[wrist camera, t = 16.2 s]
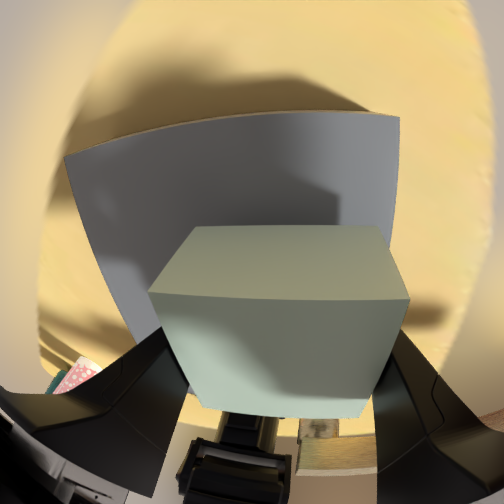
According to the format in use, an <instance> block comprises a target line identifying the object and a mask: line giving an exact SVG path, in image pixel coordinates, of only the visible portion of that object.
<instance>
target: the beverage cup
mask: <svg viewBox="0 0 504 504" xmlns="http://www.w3.org/2000/svg"><path fill="white" fill-rule="evenodd" d="M100 371H102V369H101V368H100V367H99V366H98V365H97V364H95V363H94V362H93V361H91V360H90V359H88V358H86V357H83V356H80V357H79V359H78V360H77V361H76V363H75V364H74V365H73V367H72V368H71V369H70V371H69V372H68V373H67V374H66V376H65V377H64V379H63V380H62V381H61V383H60V384H59V385H58V387H57V388H56V389H55V391H54V392H53V394H60V393H64V392H67V391H69V390H71V389H73V388H74V387H76V386H78V385H79V384H81V383H83V382H84V381H86V380H88V379H89V378H91V377H92V376H94V375H96V374H97V373H99V372H100Z"/></svg>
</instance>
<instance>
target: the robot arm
mask: <svg viewBox="0 0 504 504" xmlns="http://www.w3.org/2000/svg"><path fill="white" fill-rule="evenodd" d="M189 385H190V383H189V381H188V380H187V378H186V376H185V374H184V372H183V370H182V368H181V366H180V364H179V362H178V360H177V358H176V356H175V354H174V352H173V350H172V348H171V346H170V343H169V341H168V339H167V337H166V335H165V333H164V330H163V328H162V326H161V327H159V328H158V329H157V330H155V331H154V332H153V333H151V334H150V335H149V336H148V337H146V338H145V339H144V340H142V341H141V342H140V343H138V344H137V345H136V346H134V347H133V348H132V349H130V350H129V351H128V352H126V353H125V354H124V355H123V357H122V356H121V357H120V358H118V359H117V360H116V361H115V362H113V363H112V364H110V365H109V366H108V367H106V368H105V369H103V370H102V371H100V372H99V373H97V374H96V375H94V376H92V377H91V378H89V379H88V380H86V381H84V382H83V383H81V384H79V385H78V386H76V387H74V388H73V389H71V390H69V391H67V392H64V393H60V394H20V393H12V392H9V391H6V390H5V389H4V388H3V387H2V386H0V408H1V409H2V410H3V411H4V412H5V413H6V414H7V415H8V416H9V417H10V418H11V419H12V420H13V421H14V422H15V423H14V424H13V423H11V422H10V421H9V420H8V419H7V418H6V417H4V416H3V415H2V414H1V413H0V504H125V501H126V498H127V496H128V493H129V490H130V491H132V492H135V493H138V494H140V495H143V496H146V497H149V498H152V496H153V493H154V490H155V487H156V484H157V481H158V478H159V475H160V472H161V469H162V466H163V463H164V459H165V457H166V453H167V450H168V447H169V444H170V441H171V438H172V435H173V432H174V429H175V426H176V423H177V420H178V417H179V414H180V412H181V409H182V406H183V403H184V400H185V397H186V394H187V391H188V388H189ZM372 400H373V410H374V421H375V434H376V452H377V473H378V474H377V504H504V432H500V431H496V430H493V429H491V428H489V427H488V426H486V425H485V424H484V423H483V422H482V421H481V420H480V419H479V418H478V417H477V416H476V415H475V414H474V413H473V412H472V411H471V410H470V409H469V408H468V407H467V406H466V405H465V404H464V403H463V402H462V400H461V399H460V398H459V397H458V396H457V395H456V394H455V393H454V392H453V391H452V389H451V388H450V387H449V386H448V385H447V383H446V382H445V381H444V380H443V379H442V377H441V376H440V375H439V374H438V372H437V371H436V370H435V369H434V367H433V366H432V365H431V364H430V363H429V361H428V360H427V359H426V358H425V357H424V355H423V354H422V353H421V352H420V351H419V349H418V348H417V347H416V346H415V345H414V344H413V342H412V341H411V340H410V339H409V338H408V337H407V335H406V334H405V333H404V332H403V331H402V330H401V329H400V330H399V333H398V336H397V338H396V341H395V343H394V346H393V348H392V351H391V353H390V355H389V358H388V360H387V362H386V365H385V367H384V369H383V371H382V373H381V376H380V378H379V380H378V382H377V384H376V386H375V388H374V390H373V392H372ZM279 419H285V418H284V417H271V416H260V415H250V414H242V413H235V412H228V411H222V415H221V418H220V422H219V425H218V429H217V433H216V436H215V439H214V442H211V441H207V440H204V439H203V438H200V437H198V438H197V439H196V440H192V441H191V444H190V447H189V450H188V453H187V455H186V457H185V459H184V461H183V463H182V464H181V466H180V468H179V470H178V472H177V474H176V480H177V481H178V483H179V485H178V487H179V495H182V496H184V500H183V504H287V503H288V499H289V493H290V478H291V459H292V455H289V454H286V455H281V454H274V449H275V442H276V437H277V431H278V424H279ZM204 455H205V456H204ZM203 457H204V458H203Z"/></svg>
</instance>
